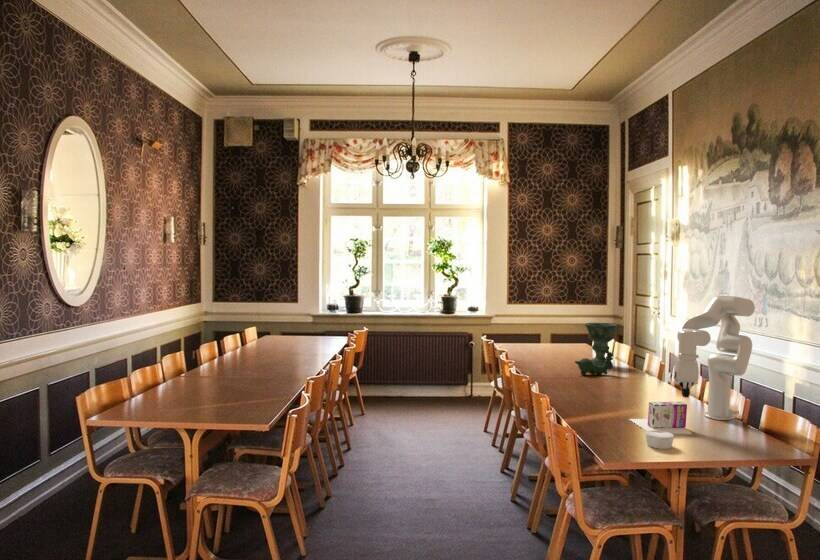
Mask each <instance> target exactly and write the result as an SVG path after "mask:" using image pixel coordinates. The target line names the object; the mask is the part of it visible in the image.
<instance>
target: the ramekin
mask: <svg viewBox="0 0 820 560" xmlns="http://www.w3.org/2000/svg"><path fill="white" fill-rule="evenodd" d="M645 439H646V444H647V446H648V445H649V446H648V447H650V448H652V447H653V448H652V449H656V448H658V449H657V450H669V449H671V448H672V446H673V442H674V439H675V434H671V433H668V432H664V431H656V430H651V431H645Z"/></svg>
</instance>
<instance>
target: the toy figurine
mask: <svg viewBox="0 0 820 560" xmlns="http://www.w3.org/2000/svg"><path fill="white" fill-rule="evenodd" d="M609 350H610V349H609ZM609 350H608V349H605V348H604V349H602V350H601V351H600V352H602V351H604V352H605V354H606V356H605V358H606V360H605V363H604V364H603V365H602V366H600V365H596V364H594V363H593V362H592V361H591V359H590V358H587V357H585V358H582V359H580V360H575V361H574V363H575V364H576V365H578V369H579V370H580V374H581V376H585V375H586V374H587V373H589V374H591V375H592V376H596V375H598V376H600V377H601V376H602V375H603V374H604V375H607V374H608V370H612V368H613V367H610V365H611V364H613V362H612V360H613V359H614V358H613V356H614V353H613V352H611V351H609Z"/></svg>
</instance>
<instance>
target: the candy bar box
mask: <svg viewBox="0 0 820 560" xmlns="http://www.w3.org/2000/svg"><path fill="white" fill-rule="evenodd" d="M647 411H648V412H647V419H648V425H649V426H650V427H652V428H684V429H686V427H687V425H686V424H687V411H688V404H687V403H685V402H683V401H649V402H648V410H647Z"/></svg>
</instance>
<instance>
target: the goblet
mask: <svg viewBox="0 0 820 560" xmlns="http://www.w3.org/2000/svg"><path fill="white" fill-rule="evenodd" d="M584 326H585V327H586V329H587V333H588V336H587V337H588V338H589V340H590V341H592V342H593V344H592V346H591V349H592V350H593V351H594V353H595V357H594V358H591V359H590V360H591V361H592V362H593V363H594V364H596V365H600V366H602V365H603V364H604V363H605V360H606V356H605V355H606V353H605V352H604V351H602V352H600V351H601V350H602V349H604V348H605V349H608V350H610V346H609V342H611V341H613V339H614V333H615V331H616V329H617V328H618V326H619V325H618V324H615V323H611V322H587V323H585V324H584ZM610 367H612V368H613V367H614V365H613V364H611V365H610Z"/></svg>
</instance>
